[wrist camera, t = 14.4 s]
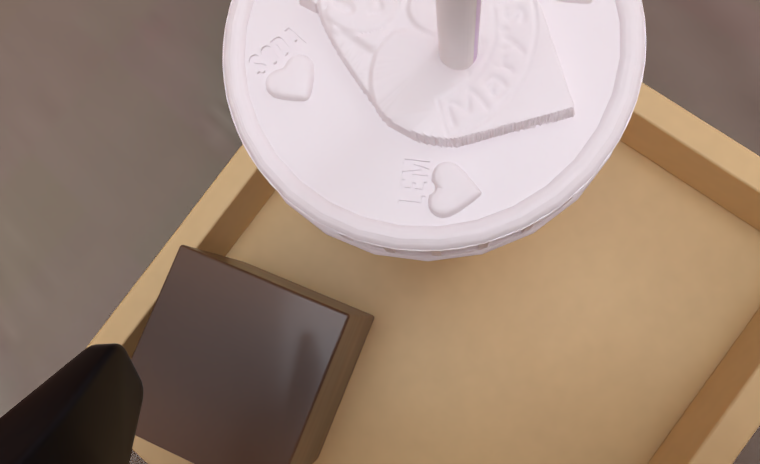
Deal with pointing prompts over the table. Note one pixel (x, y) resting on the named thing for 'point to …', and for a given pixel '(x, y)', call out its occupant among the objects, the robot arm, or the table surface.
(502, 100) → the smoothie
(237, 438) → the walnut block
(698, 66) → the table surface
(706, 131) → the tray
